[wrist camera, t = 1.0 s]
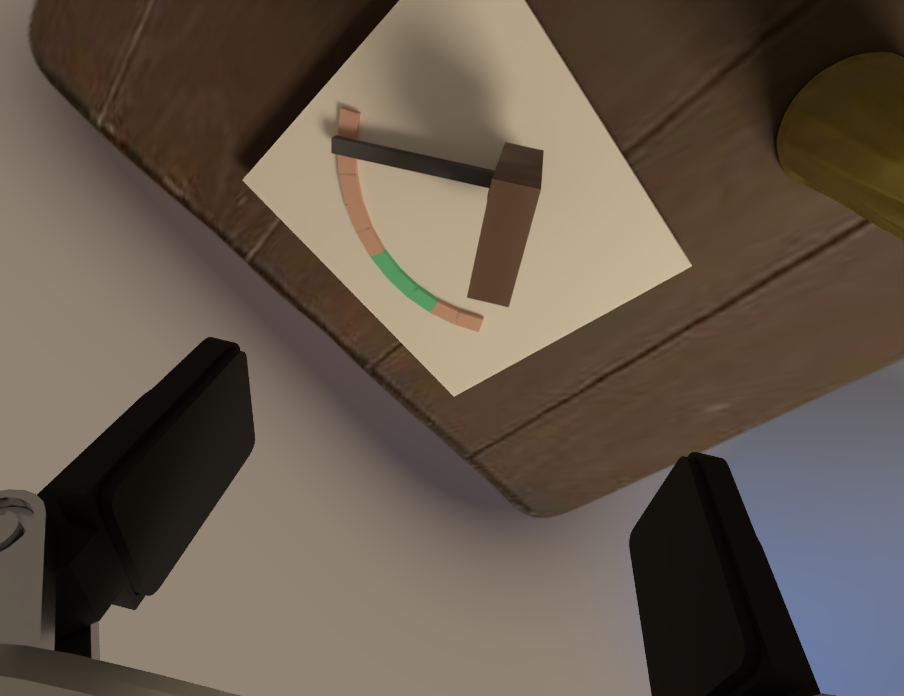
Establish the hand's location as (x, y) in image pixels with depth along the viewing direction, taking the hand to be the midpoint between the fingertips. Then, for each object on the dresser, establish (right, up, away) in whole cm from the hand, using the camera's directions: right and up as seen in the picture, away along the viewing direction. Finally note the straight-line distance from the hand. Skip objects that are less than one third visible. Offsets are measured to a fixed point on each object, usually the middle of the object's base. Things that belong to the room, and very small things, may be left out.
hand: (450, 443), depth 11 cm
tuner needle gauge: (-1, +12, +16) cm, 20 cm away
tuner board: (+1, +10, +19) cm, 22 cm away
